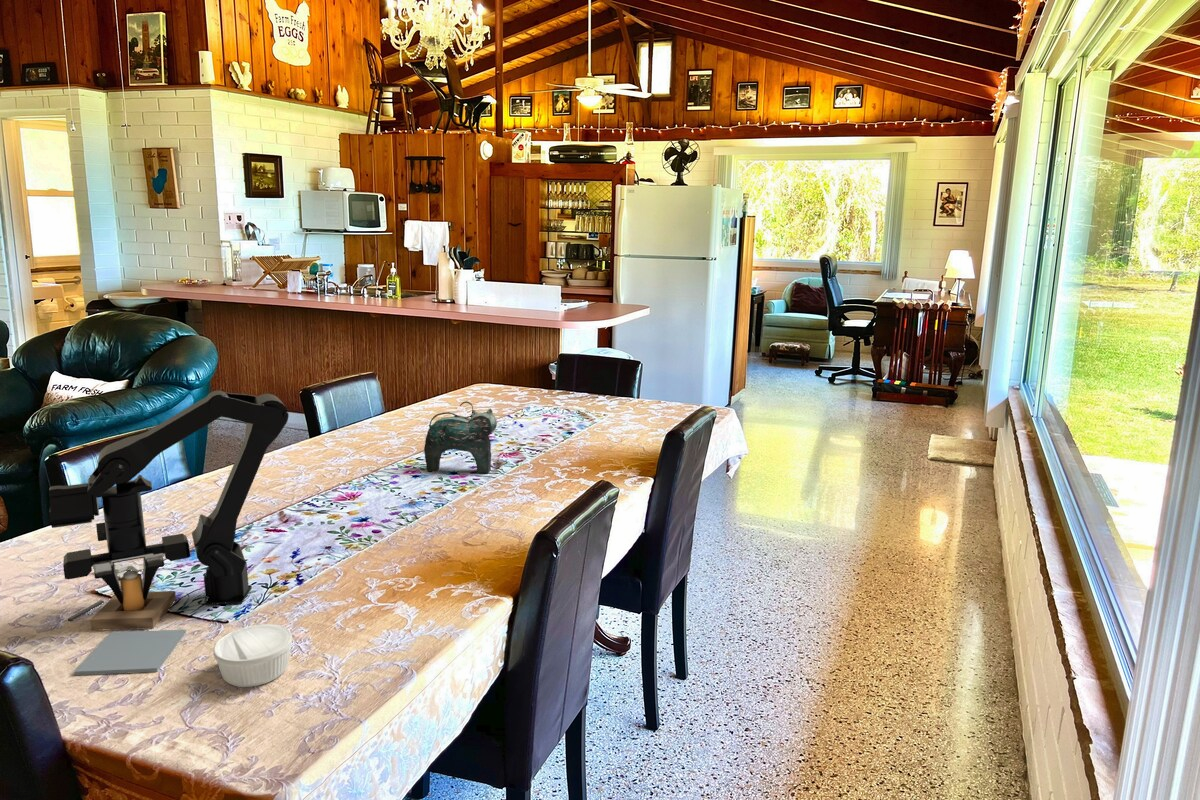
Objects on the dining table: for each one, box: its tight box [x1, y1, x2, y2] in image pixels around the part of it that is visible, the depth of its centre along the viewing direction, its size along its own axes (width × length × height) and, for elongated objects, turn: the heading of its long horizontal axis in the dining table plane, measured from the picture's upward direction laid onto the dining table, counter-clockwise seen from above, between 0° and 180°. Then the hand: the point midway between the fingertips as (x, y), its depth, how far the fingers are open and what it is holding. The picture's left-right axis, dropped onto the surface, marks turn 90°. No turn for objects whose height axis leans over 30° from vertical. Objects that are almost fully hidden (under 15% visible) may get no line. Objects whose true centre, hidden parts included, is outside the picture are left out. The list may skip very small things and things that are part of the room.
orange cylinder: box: [119, 570, 145, 611], centre depth 142 cm, size 3×3×8 cm
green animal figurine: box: [423, 400, 498, 475], centre depth 223 cm, size 20×6×20 cm, turn 84°
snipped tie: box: [67, 600, 105, 622], centre depth 144 cm, size 7×1×1 cm, turn 167°
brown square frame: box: [89, 590, 177, 631], centre depth 143 cm, size 10×10×2 cm
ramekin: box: [212, 623, 293, 688], centre depth 126 cm, size 11×11×5 cm
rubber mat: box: [73, 629, 187, 676], centre depth 131 cm, size 12×12×1 cm
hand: (133, 600), depth 142 cm, fingers closed on orange cylinder, 3 cm apart
